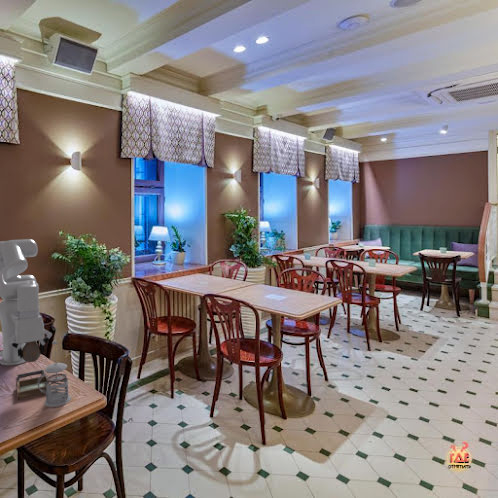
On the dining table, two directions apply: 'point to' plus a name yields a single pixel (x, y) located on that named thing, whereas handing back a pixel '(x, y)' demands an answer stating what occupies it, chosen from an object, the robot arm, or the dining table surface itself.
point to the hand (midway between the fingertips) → (31, 355)
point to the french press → (54, 396)
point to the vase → (31, 352)
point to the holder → (31, 387)
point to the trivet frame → (31, 373)
